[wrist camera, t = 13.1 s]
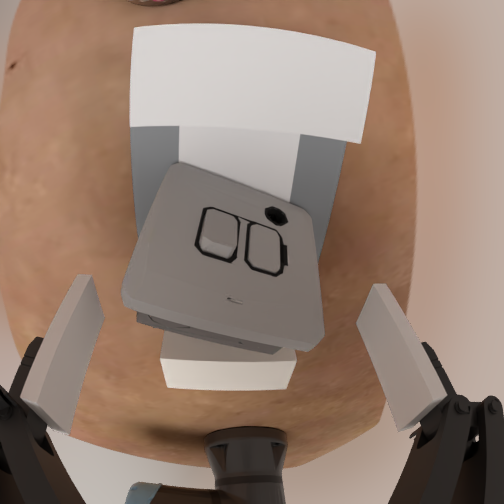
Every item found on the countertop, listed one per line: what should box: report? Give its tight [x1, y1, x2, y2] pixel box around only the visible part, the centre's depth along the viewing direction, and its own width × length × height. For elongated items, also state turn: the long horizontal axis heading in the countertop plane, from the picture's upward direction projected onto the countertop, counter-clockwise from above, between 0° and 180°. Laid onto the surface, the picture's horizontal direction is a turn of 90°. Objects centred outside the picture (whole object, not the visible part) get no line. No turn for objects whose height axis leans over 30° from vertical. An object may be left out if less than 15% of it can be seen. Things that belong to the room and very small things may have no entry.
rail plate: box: [130, 24, 376, 390], centre depth 17 cm, size 22×13×7 cm, turn 174°
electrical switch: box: [121, 163, 325, 355], centre depth 15 cm, size 9×5×9 cm, turn 66°
